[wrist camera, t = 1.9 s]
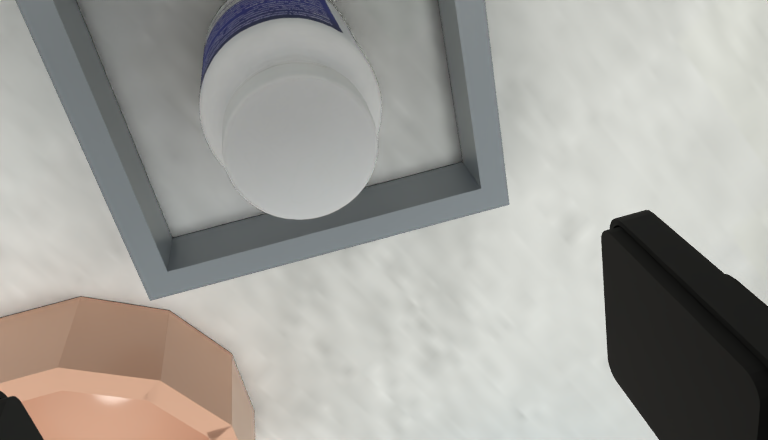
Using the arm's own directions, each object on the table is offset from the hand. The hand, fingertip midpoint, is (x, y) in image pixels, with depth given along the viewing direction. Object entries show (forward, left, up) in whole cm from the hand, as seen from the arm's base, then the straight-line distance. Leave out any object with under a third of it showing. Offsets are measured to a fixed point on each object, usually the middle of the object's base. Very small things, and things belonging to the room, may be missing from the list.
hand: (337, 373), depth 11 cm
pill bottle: (0, 0, -17) cm, 17 cm away
